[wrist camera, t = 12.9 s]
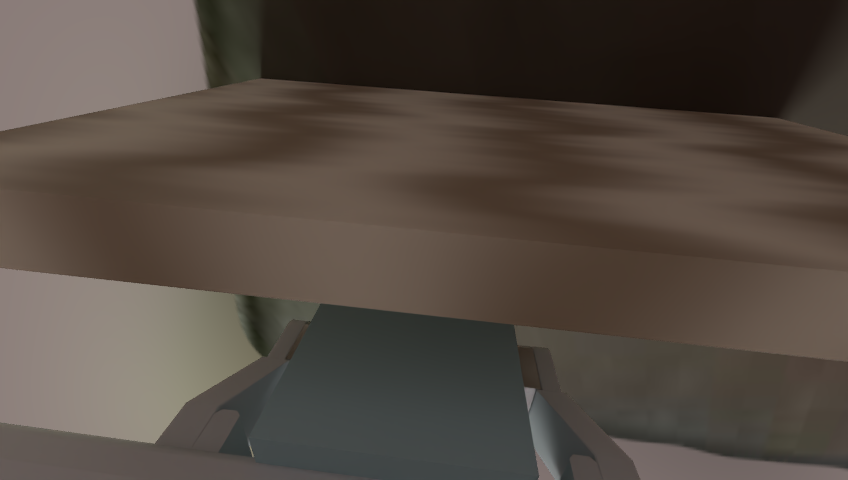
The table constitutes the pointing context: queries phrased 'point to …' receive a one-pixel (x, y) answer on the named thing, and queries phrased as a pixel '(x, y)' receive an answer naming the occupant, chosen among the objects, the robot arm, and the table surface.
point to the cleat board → (450, 209)
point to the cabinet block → (400, 400)
